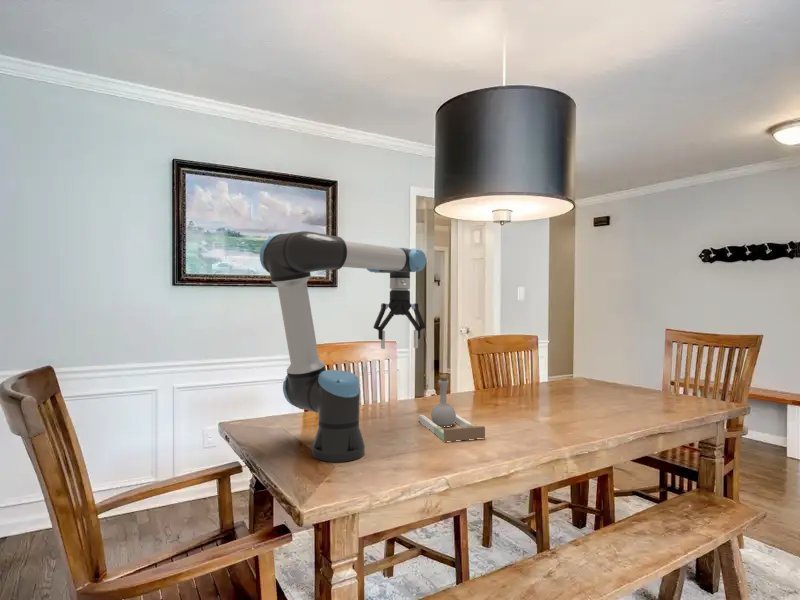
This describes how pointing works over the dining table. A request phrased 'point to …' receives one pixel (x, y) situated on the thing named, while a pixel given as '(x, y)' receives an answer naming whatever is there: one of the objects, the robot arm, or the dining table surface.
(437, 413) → the potion bottle
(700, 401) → the dining table surface
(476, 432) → the slot track
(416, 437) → the dining table surface
